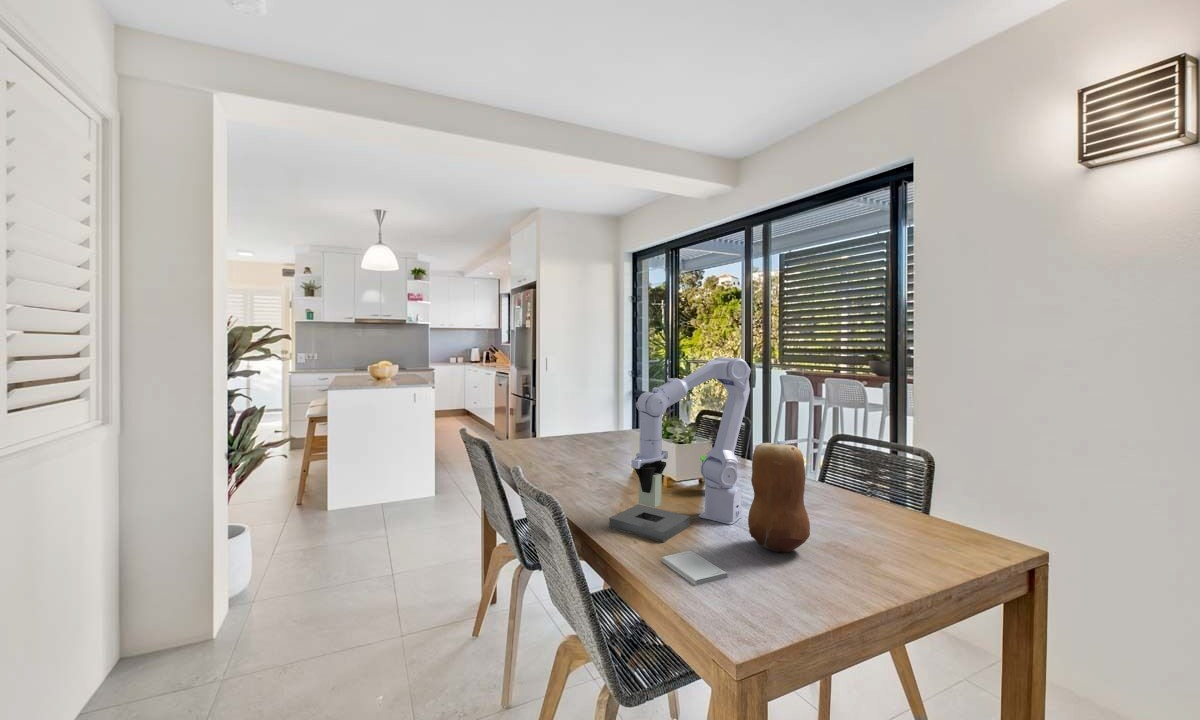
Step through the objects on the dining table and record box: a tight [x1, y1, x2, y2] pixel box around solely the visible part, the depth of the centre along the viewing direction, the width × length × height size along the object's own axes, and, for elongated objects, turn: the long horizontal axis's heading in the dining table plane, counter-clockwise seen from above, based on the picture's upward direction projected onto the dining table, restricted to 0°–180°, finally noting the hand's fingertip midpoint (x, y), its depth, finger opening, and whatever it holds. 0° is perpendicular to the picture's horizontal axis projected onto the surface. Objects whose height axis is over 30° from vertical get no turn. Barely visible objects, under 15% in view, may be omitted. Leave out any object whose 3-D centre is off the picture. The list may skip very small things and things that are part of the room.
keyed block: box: [638, 473, 663, 508], centre depth 133 cm, size 3×5×8 cm, turn 52°
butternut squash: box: [747, 442, 811, 554], centre depth 119 cm, size 14×13×25 cm
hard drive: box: [661, 550, 729, 587], centre depth 109 cm, size 2×8×12 cm
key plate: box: [608, 503, 691, 544], centre depth 133 cm, size 16×14×2 cm
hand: (649, 490), depth 133 cm, fingers closed on keyed block, 3 cm apart
